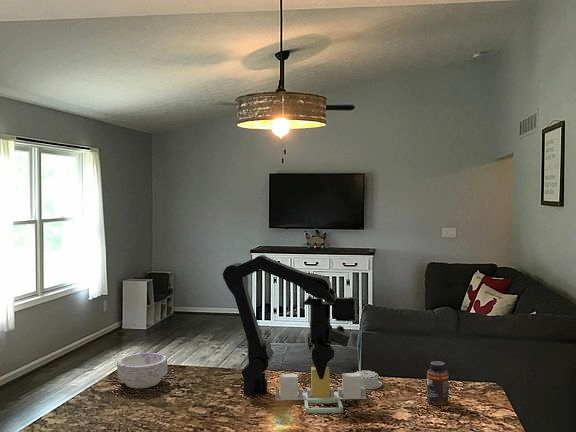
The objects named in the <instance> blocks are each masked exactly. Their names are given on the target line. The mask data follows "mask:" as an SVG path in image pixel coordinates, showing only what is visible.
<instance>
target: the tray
mask: <svg viewBox="0 0 576 432" xmlns="http://www.w3.org/2000/svg"><path fill="white" fill-rule="evenodd" d="M341 400H342V399H340V398H317V399H304V400H303V404H304V409H305V413H306V414H331V413H332V414H334V413H335V414H340V413H341V414H343V413H344V412H345V411H344V405H343V404H342V401H341ZM309 404H337V406H338V407H310V406H309Z"/></svg>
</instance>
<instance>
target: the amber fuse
mask: <svg viewBox="0 0 576 432" xmlns="http://www.w3.org/2000/svg"><path fill="white" fill-rule="evenodd" d="M310 373H311V374H310V377H311V379H310V385H311V386H310V389H311V395H312V398H326V397H329V396H330V385H331V384H330V379H331V378H330V367H329V366H326V370H325V374H324V378H323V379H319V376H318V374H317V371H316V369H315V366H311V368H310Z"/></svg>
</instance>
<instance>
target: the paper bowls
mask: <svg viewBox="0 0 576 432" xmlns="http://www.w3.org/2000/svg"><path fill="white" fill-rule="evenodd" d="M167 357H168V356H166V355H165V354H162V353H158V352H140V353H139V352H138V353H134V354H133V353H132V354H129V355H128V354H127V355H126V356H123V357H121V358H119V359H118V360H117V362H116V373H117V378H118V379H119V380H120V381H124V384H125V386H127V387H129V388H132V389H146V388H147V389H148V388H151V387H154V386H156V385H158V384H159V383H160V382H161V380H162V378H163V377H165V376H166V375H167V374H168V358H167Z"/></svg>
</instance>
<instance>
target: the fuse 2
mask: <svg viewBox="0 0 576 432" xmlns="http://www.w3.org/2000/svg"><path fill="white" fill-rule="evenodd" d="M341 388H342V395H343V397H361V375H360V374H359V373H356V372H348V373H347V372H345V373H344V372H343V373H341Z"/></svg>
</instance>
